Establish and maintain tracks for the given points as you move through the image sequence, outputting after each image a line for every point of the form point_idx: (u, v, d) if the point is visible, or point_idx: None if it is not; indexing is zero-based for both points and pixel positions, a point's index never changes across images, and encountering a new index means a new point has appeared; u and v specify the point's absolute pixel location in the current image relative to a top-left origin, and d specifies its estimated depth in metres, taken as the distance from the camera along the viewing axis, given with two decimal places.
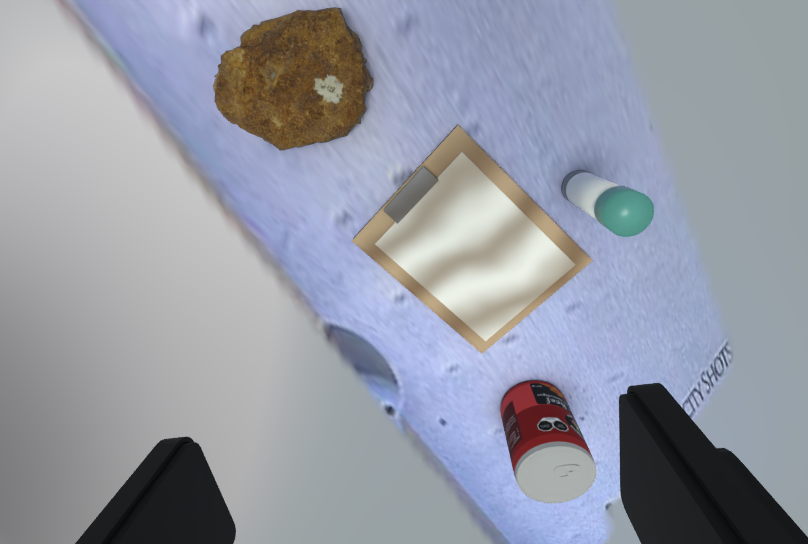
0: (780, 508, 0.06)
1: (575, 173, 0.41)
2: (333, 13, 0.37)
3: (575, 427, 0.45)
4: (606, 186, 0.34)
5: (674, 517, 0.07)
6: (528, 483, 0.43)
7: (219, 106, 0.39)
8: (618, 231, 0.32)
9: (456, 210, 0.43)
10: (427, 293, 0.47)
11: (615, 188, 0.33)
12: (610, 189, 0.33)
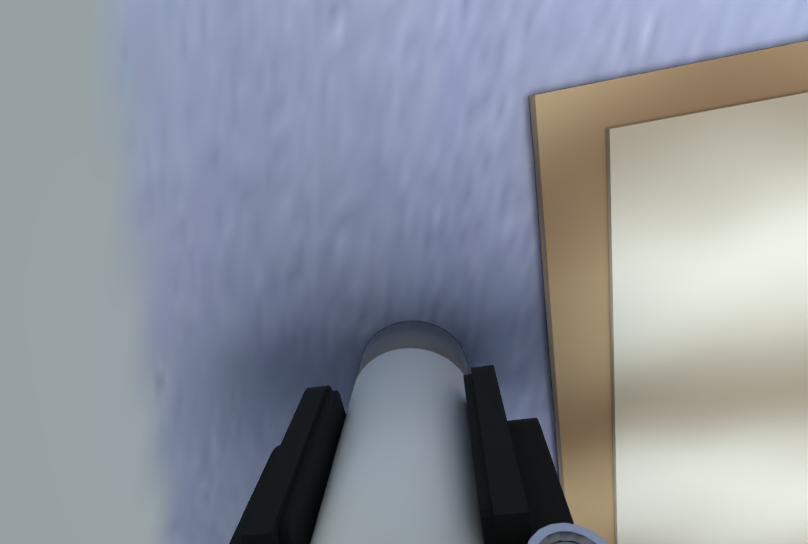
0: (551, 461, 0.08)
1: None
2: None
3: None
4: None
5: None
6: None
7: None
8: None
9: (765, 539, 0.13)
10: None
11: None
12: None
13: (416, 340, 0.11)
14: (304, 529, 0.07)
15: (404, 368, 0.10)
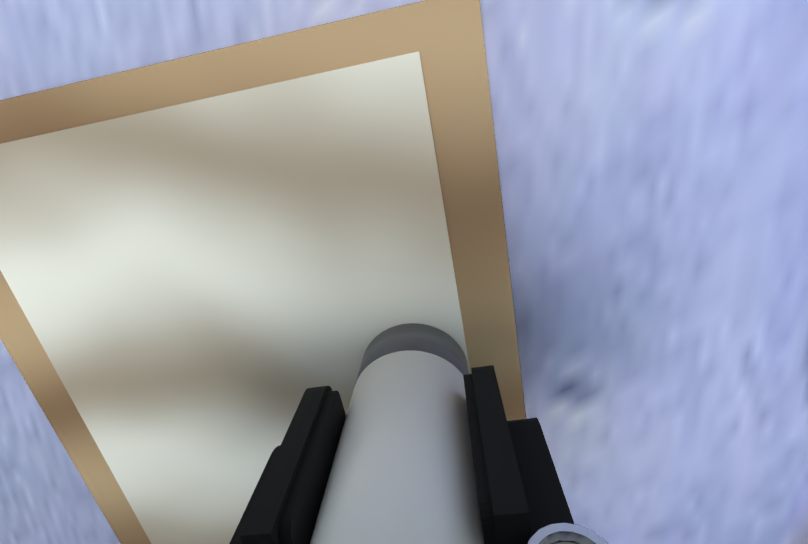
0: (551, 461, 0.08)
1: None
2: None
3: None
4: None
5: None
6: None
7: None
8: None
9: None
10: None
11: None
12: None
13: (414, 342, 0.11)
14: (304, 529, 0.07)
15: (401, 370, 0.10)
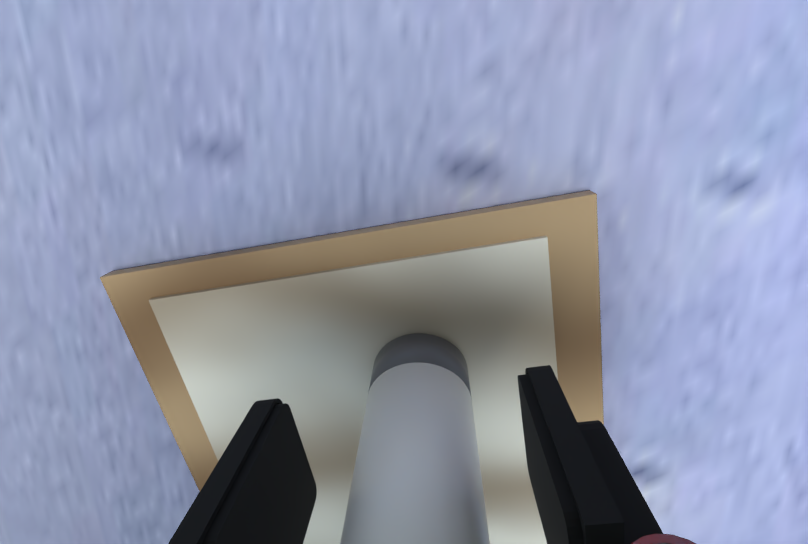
0: (624, 466, 0.07)
1: None
2: None
3: None
4: None
5: (542, 476, 0.08)
6: None
7: None
8: None
9: None
10: None
11: None
12: None
13: (433, 355, 0.13)
14: None
15: (424, 383, 0.12)
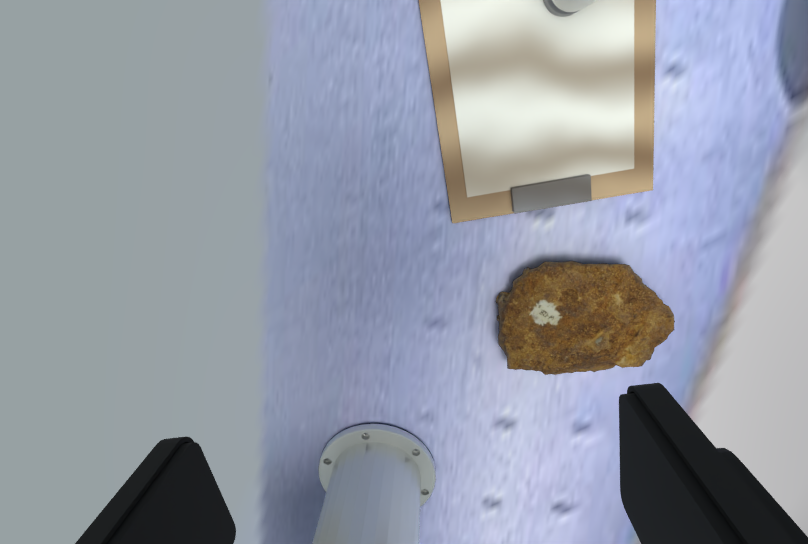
0: (780, 508, 0.06)
1: (560, 12, 0.29)
2: (516, 366, 0.38)
3: None
4: None
5: (674, 517, 0.07)
6: None
7: (671, 324, 0.36)
8: None
9: (518, 139, 0.33)
10: (638, 53, 0.30)
11: None
12: None
13: None
14: None
15: None
